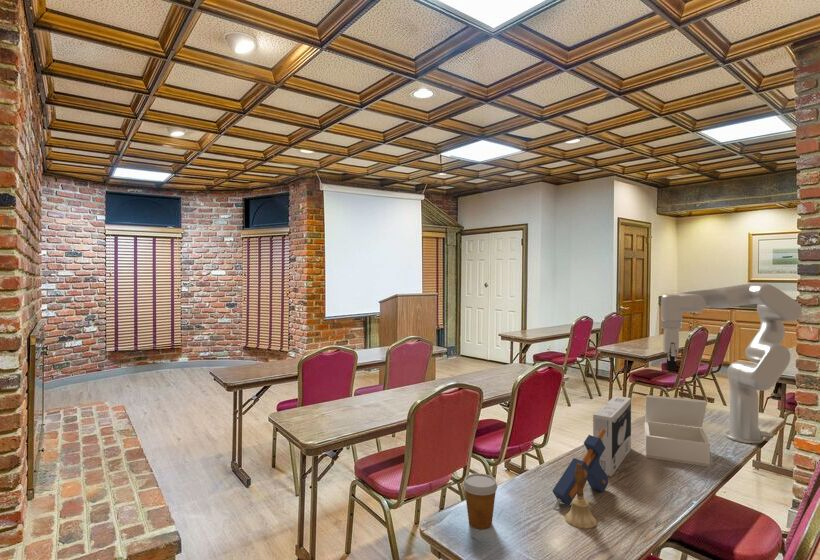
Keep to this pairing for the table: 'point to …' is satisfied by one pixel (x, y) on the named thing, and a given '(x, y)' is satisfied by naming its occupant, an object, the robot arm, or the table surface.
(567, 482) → the glue gun
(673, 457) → the box
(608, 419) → the packaging
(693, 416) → the lid
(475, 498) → the disposable coffee cup
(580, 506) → the hand bell
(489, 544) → the table surface
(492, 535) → the table surface
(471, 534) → the table surface
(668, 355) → the robot arm
